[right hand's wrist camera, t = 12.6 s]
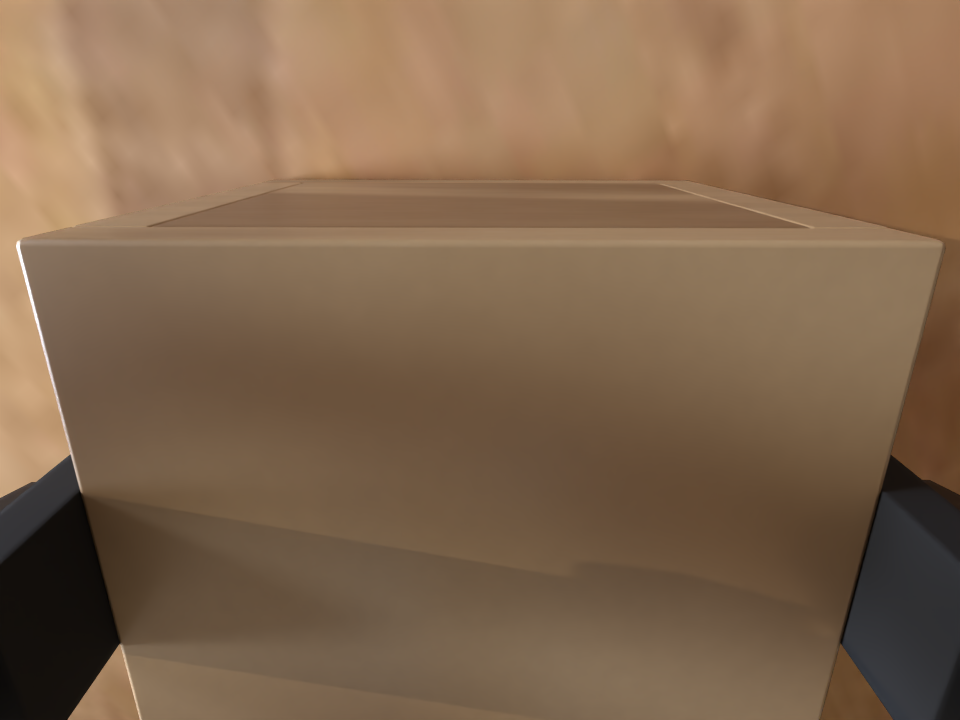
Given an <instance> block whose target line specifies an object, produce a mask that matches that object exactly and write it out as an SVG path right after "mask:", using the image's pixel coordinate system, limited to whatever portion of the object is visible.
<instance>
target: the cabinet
mask: <svg viewBox="0 0 960 720" xmlns="http://www.w3.org/2000/svg"><path fill="white" fill-rule="evenodd" d="M17 251H18V255H19V258H20V262H21V266H22V270H23V274H24V278H25V281H26V285H27V289H28V293H29V297H30V300H31V304H32V308H33V312H34V316H35V320H36V323H37V327H38V331H39V335H40V339H41V343H42V346H43V350H44V354H45V358H46V362H47V366H48V369H49V373H50V377H51V381H52V385H53V389H54V392H55V396H56V400H57V404H58V408H59V412H60V415H61V419H62V423H63V427H64V431H65V435H66V438H67V442H68V446H69V450H70V454H71V457H72V461H73V465H74V469H75V473H76V477H77V480H78V484H79V488H80V492H81V496H82V500H83V503H84V507H85V511H86V515H87V519H88V523H89V526H90V530H91V534H92V538H93V542H94V546H95V549H96V553H97V557H98V561H99V565H100V569H101V572H102V576H103V580H104V584H105V588H106V592H107V595H108V599H109V603H110V607H111V611H112V614H113V618H114V622H115V626H116V630H117V634H118V637H119V641H120V645H121V649H122V653H123V657H124V660H125V664H126V668H127V672H128V676H129V680H130V683H131V687H132V691H133V695H134V699H135V703H136V706H137V710H138V714H139V718H140V720H820V718H821V714H822V711H823V707H824V703H825V699H826V696H827V692H828V688H829V684H830V681H831V677H832V673H833V669H834V666H835V662H836V658H837V654H838V650H839V647H840V643H841V639H842V635H843V632H844V628H845V624H846V620H847V617H848V613H849V609H850V605H851V602H852V598H853V594H854V590H855V587H856V583H857V579H858V575H859V572H860V568H861V564H862V560H863V557H864V553H865V549H866V545H867V542H868V538H869V534H870V530H871V527H872V523H873V519H874V515H875V511H876V508H877V504H878V500H879V496H880V493H881V489H882V485H883V481H884V478H885V474H886V470H887V466H888V463H889V459H890V455H891V451H892V448H893V444H894V440H895V436H896V433H897V429H898V425H899V421H900V418H901V414H902V410H903V406H904V403H905V399H906V395H907V391H908V388H909V384H910V380H911V376H912V372H913V369H914V365H915V361H916V357H917V354H918V350H919V346H920V342H921V339H922V335H923V331H924V327H925V324H926V320H927V316H928V312H929V309H930V305H931V301H932V297H933V294H934V290H935V286H936V282H937V279H938V275H939V271H940V267H941V264H942V260H943V256H944V252H945V243H944V242H942V241H940V240H938V239H934V238H929V237H925V236H921V235H917V234H912V233H908V232H904V231H899V230H895V229H890V228H888V227H885V226H881V225H876V224H872V223H868V222H863V221H859V220H855V219H851V218H846V217H842V216H838V215H833V214H829V213H825V212H820V211H816V210H812V209H808V208H803V207H799V206H795V205H790V204H786V203H782V202H777V201H773V200H769V199H765V198H760V197H756V196H752V195H747V194H743V193H739V192H734V191H730V190H726V189H721V188H717V187H713V186H709V185H704V184H700V183H696V182H692V181H687V180H270V181H266V182H262V183H258V184H254V185H249V186H245V187H241V188H236V189H232V190H227V191H223V192H219V193H214V194H210V195H206V196H201V197H197V198H193V199H188V200H184V201H180V202H175V203H171V204H167V205H162V206H158V207H154V208H149V209H145V210H141V211H136V212H132V213H128V214H123V215H119V216H114V217H110V218H106V219H101V220H97V221H93V222H88V223H84V224H80V225H76V226H74V227H69V228H64V229H60V230H56V231H51V232H47V233H43V234H38V235H34V236H30V237H25V238H23V239H20V240H19V241H18V242H17Z"/></svg>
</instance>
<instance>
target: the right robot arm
mask: <svg viewBox="0 0 960 720" xmlns="http://www.w3.org/2000/svg"><path fill="white" fill-rule="evenodd" d="M119 644H120V641H119V637H118V634H117V630H116V626H115V622H114V618H113V614H112V611H111V607H110V603H109V599H108V595H107V592H106V588H105V584H104V580H103V576H102V572H101V569H100V565H99V561H98V557H97V553H96V549H95V546H94V542H93V538H92V534H91V530H90V526H89V523H88V519H87V515H86V511H85V507H84V503H83V500H82V496H81V492H80V488H79V484H78V480H77V477H76V473H75V469H74V465H73V461H72V457H71V454H70V455H69V456H68V457H67V458H65V459H64V460H63V461H62V462H60V463H59V464H58V465H57V466H55V467H54V468H53V469H52V470H51V471H49V472H48V473H47V474H46V475H44V476H43V477H42V478H41V479H39V480H38V481H37V482H31V483H29V484H27V485H25V486H23V487H21V488H19V489H17V490H15V491H13V492H11V493H9V494H7V495H5V496H3V497H1V498H0V720H67V719H68V718H69V716H70V715H71V713H72V712H73V710H74V709H75V708H76V706H77V705H78V703H79V702H80V700H81V699H82V697H83V696H84V695H85V693H86V692H87V690H88V689H89V687H90V686H91V684H92V683H93V681H94V680H95V679H96V677H97V676H98V674H99V673H100V671H101V670H102V668H103V667H104V666H105V664H106V663H107V661H108V660H109V658H110V657H111V655H112V654H113V652H114V651H115V650H116V648H117V647H118V645H119ZM841 644H842V646H843V647H844V649H845V650H846V652H847V653H848V654H849V656H850V657H851V659H852V660H853V662H854V663H855V665H856V666H857V667H858V669H859V670H860V672H861V673H862V675H863V676H864V678H865V679H866V681H867V682H868V683H869V685H870V686H871V688H872V689H873V691H874V692H875V694H876V695H877V696H878V698H879V699H880V701H881V702H882V704H883V705H884V707H885V708H886V710H887V711H888V712H889V714H890V715H891V717H892V718H893V720H960V495H958V494H956V493H954V492H952V491H950V490H948V489H946V488H944V487H942V486H940V485H938V484H936V483H934V482H932V481H931V480H921V479H920V478H919V477H918V476H916V475H915V474H914V473H913V472H911V471H910V470H909V469H908V468H907V467H905V466H904V465H903V464H902V463H900V462H899V461H898V460H897V459H895V458H894V457H893V456H892V455H890V459H889V463H888V466H887V470H886V474H885V478H884V481H883V485H882V489H881V493H880V496H879V500H878V504H877V508H876V511H875V515H874V519H873V523H872V527H871V530H870V534H869V538H868V542H867V545H866V549H865V553H864V557H863V560H862V564H861V568H860V572H859V575H858V579H857V583H856V587H855V590H854V594H853V598H852V602H851V605H850V609H849V613H848V617H847V620H846V624H845V628H844V632H843V635H842V639H841Z"/></svg>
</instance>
